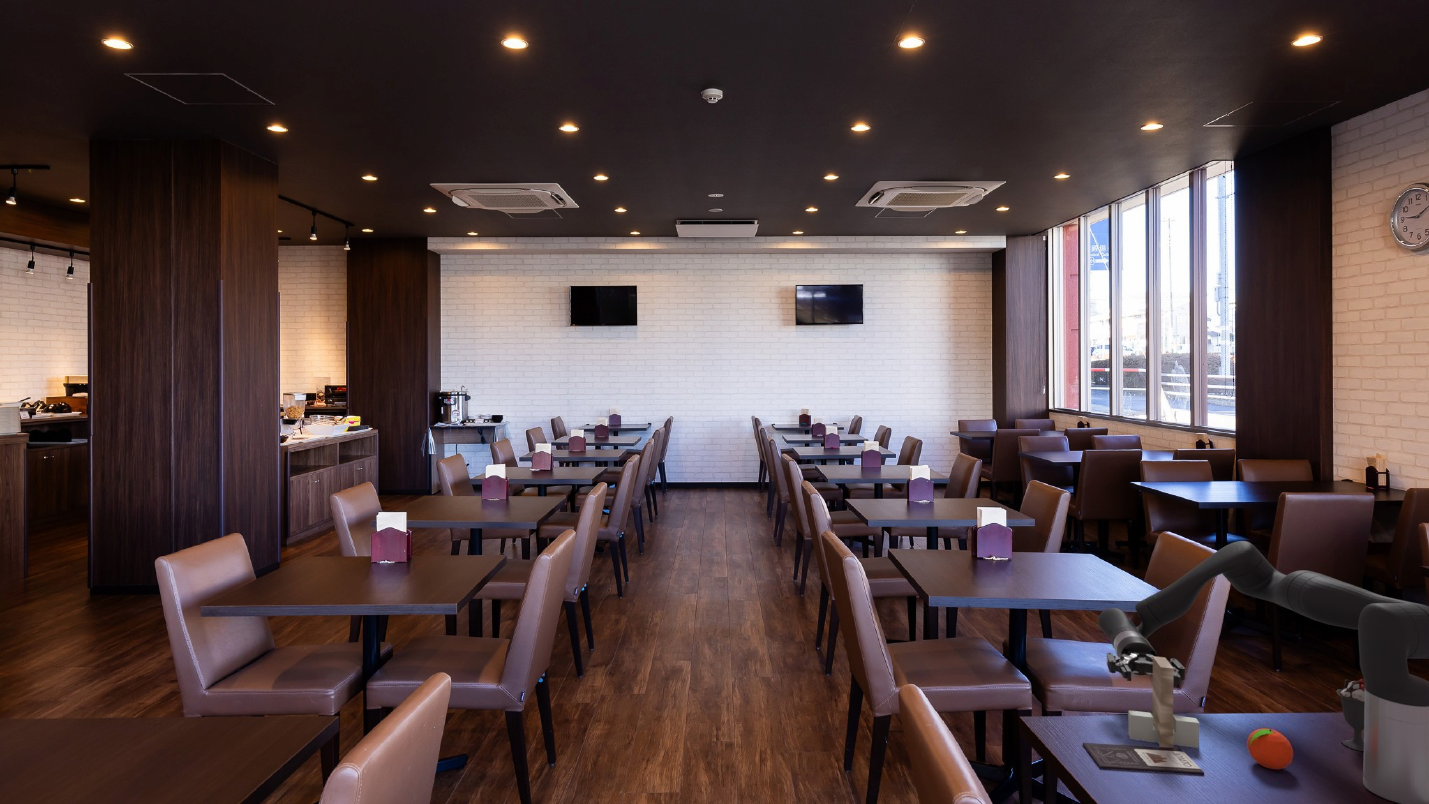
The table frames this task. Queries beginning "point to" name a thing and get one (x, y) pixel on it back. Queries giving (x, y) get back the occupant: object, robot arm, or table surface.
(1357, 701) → the sundae
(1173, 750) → the chocolate bar
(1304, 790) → the table surface
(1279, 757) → the clementine
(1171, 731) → the tapered block
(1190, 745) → the slotted rail
